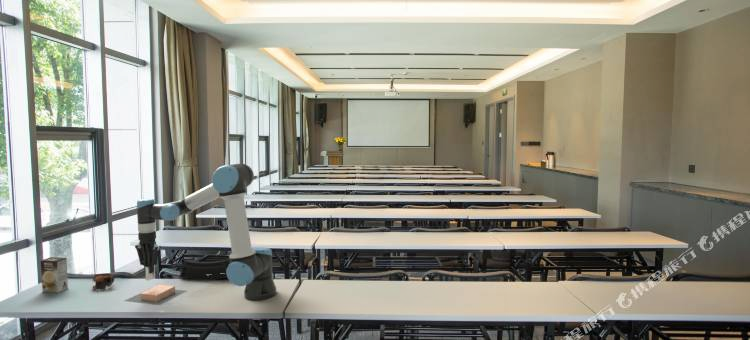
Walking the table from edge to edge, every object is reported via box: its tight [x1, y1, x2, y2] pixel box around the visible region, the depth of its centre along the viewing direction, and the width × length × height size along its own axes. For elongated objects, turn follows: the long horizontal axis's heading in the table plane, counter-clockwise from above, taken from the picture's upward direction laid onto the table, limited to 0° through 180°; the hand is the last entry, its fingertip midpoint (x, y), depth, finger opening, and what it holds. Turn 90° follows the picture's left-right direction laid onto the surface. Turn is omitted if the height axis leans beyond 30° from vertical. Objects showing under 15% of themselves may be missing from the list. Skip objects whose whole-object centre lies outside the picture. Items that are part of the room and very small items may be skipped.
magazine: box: [179, 258, 230, 281], centre depth 227 cm, size 17×3×30 cm
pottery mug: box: [91, 273, 115, 291], centre depth 215 cm, size 12×10×8 cm
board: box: [140, 284, 176, 302], centre depth 202 cm, size 3×12×9 cm
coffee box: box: [40, 256, 69, 294], centre depth 210 cm, size 9×6×16 cm
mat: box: [124, 288, 187, 306], centre depth 202 cm, size 20×18×1 cm
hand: (149, 279), depth 202 cm, fingers closed
